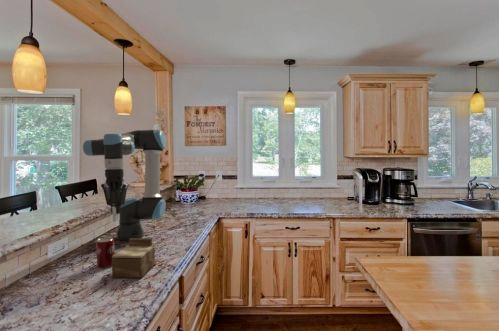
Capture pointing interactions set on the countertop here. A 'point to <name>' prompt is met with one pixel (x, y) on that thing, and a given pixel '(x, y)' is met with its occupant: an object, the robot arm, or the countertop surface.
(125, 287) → the countertop surface
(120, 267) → the box
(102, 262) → the soda can
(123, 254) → the lid
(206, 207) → the countertop surface
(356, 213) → the countertop surface
